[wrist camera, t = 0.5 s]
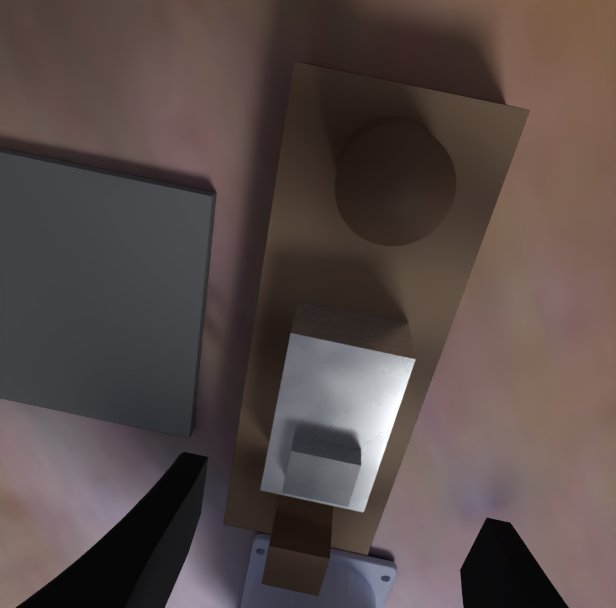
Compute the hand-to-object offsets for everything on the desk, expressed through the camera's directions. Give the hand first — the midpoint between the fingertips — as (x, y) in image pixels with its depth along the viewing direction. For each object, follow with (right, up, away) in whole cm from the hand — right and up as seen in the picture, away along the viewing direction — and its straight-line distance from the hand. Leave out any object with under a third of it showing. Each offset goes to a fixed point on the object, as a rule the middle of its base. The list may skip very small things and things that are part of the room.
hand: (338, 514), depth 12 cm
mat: (-11, +6, +9) cm, 15 cm away
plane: (+1, +4, +8) cm, 9 cm away
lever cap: (0, +2, +7) cm, 7 cm away
